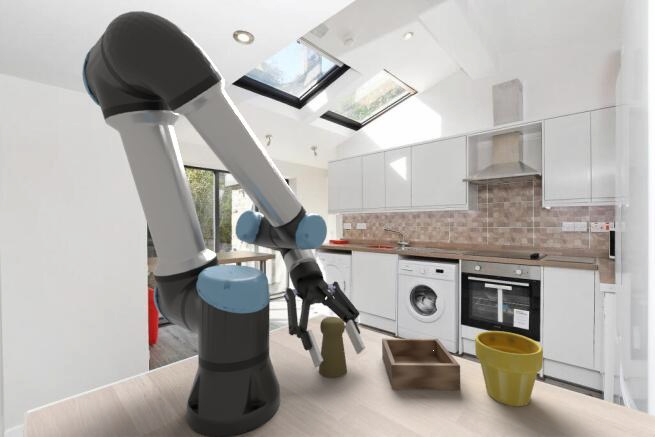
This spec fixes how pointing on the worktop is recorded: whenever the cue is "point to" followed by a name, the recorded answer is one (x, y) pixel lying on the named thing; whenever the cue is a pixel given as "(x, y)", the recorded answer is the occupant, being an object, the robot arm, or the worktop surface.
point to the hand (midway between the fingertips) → (341, 357)
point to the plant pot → (508, 365)
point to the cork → (332, 348)
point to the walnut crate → (420, 364)
